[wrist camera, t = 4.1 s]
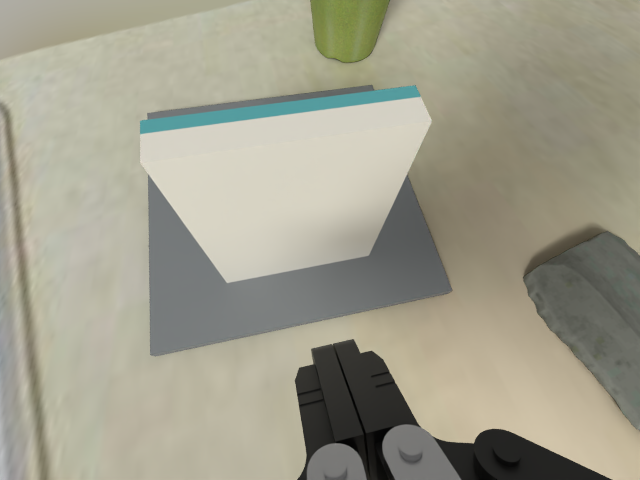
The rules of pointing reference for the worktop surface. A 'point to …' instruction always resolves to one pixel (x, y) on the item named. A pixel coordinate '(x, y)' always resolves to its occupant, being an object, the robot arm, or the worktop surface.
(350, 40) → the plant pot
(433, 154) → the worktop surface
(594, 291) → the stone slab
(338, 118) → the glazed tile
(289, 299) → the rubber mat
